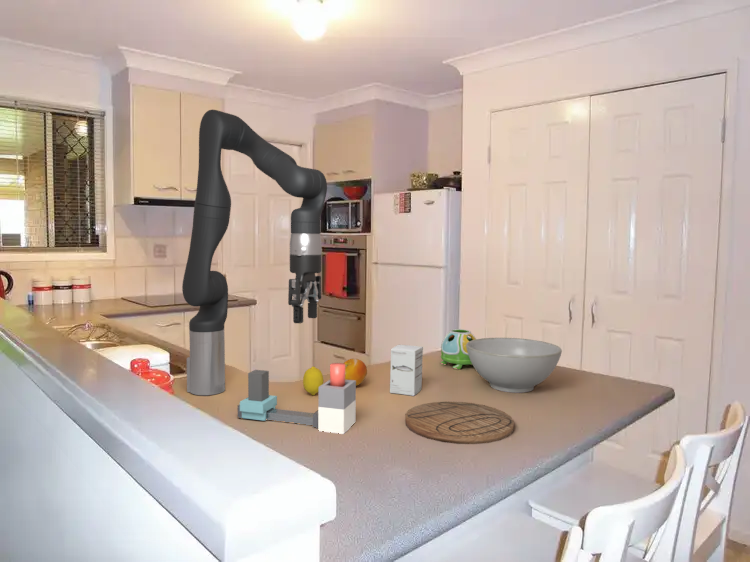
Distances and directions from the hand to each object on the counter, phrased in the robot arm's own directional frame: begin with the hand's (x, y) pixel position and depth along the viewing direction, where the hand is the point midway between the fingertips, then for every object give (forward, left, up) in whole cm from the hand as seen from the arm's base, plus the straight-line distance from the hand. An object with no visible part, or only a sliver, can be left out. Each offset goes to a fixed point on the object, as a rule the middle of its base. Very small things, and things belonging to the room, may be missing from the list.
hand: (305, 320), depth 133 cm
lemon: (-5, +15, -23) cm, 28 cm away
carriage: (-10, -6, -23) cm, 25 cm away
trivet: (+36, +5, -24) cm, 44 cm away
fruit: (+2, +27, -23) cm, 36 cm away
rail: (-4, -6, -23) cm, 24 cm away
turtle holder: (+29, +63, -23) cm, 74 cm away
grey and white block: (+10, -6, -23) cm, 26 cm away
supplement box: (+18, +27, -23) cm, 40 cm away
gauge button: (+10, -6, -15) cm, 19 cm away
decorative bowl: (+46, +42, -23) cm, 67 cm away
